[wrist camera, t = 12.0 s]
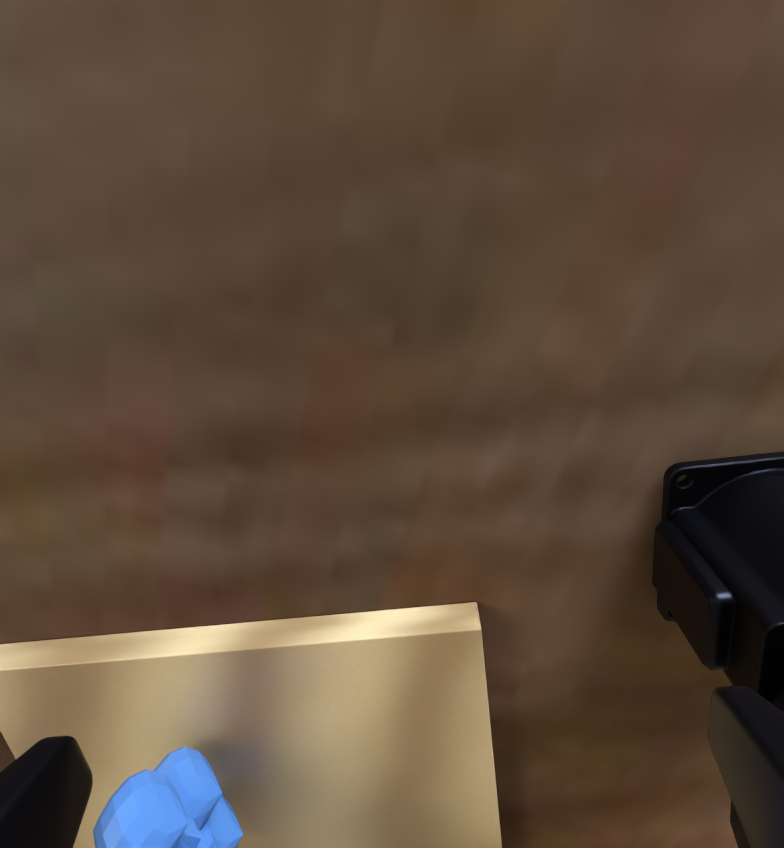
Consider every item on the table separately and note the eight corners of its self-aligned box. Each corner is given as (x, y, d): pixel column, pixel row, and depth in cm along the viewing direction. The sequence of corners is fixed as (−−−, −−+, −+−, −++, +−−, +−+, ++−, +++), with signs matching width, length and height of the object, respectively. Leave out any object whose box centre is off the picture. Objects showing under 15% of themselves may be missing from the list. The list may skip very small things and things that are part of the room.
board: (476, 601, 22) (481, 629, 20) (502, 860, 28) (506, 896, 26) (-7, 644, 23) (-33, 672, 22) (115, 881, 29) (101, 915, 28)
